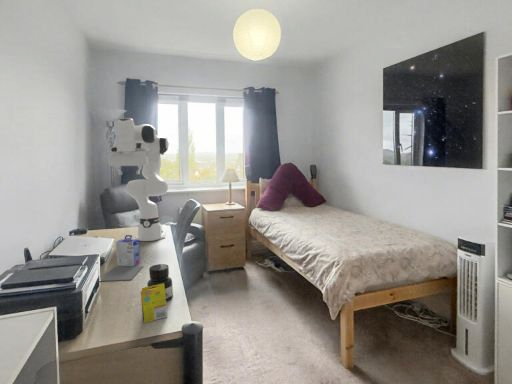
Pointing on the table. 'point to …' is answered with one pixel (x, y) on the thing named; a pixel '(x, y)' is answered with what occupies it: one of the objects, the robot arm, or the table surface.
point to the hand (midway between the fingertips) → (129, 174)
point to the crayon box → (153, 303)
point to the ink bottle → (161, 279)
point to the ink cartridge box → (128, 252)
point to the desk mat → (121, 273)
